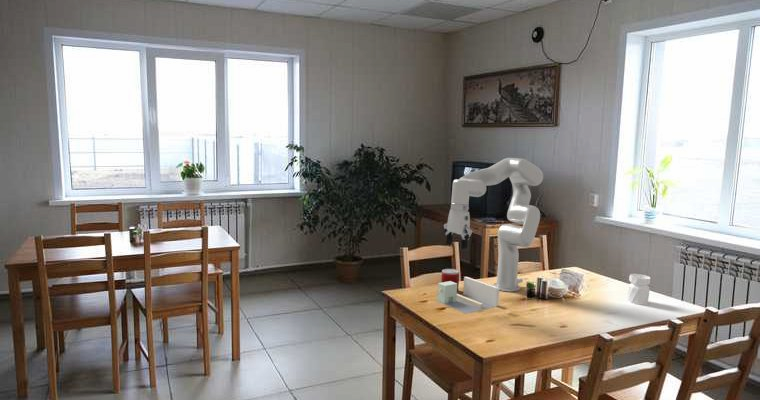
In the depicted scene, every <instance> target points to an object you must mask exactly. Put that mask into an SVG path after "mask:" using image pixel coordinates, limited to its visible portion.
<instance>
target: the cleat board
mask: <svg viewBox="0 0 760 400" xmlns="http://www.w3.org/2000/svg"><path fill="white" fill-rule="evenodd" d="M499 298H500V290H499V288H498V287H495V286H493V285H492V284H489V283H486V282H482V281H480V280H477V279H474V278H472V277H468V276H463V291H462V293H461V294H459V293H457V299H456V301H455V302H452V301H450V300H448V303H446V304H443V303H441V302H439V301H437V300H438V298H436V299H434V301H435V302H438V303H440V304H441V305H444V306H446V307H449V308H452V309H454V310H456V311H458V312H461V313H463V314H465V315H467V314H472V313H475V312H480V311H484V310H487V309H493V308H497V307H499Z"/></svg>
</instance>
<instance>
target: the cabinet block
mask: <svg viewBox="0 0 760 400" xmlns="http://www.w3.org/2000/svg"><path fill="white" fill-rule="evenodd" d="M457 294H458V292H457V283H454V282H452V281H448V282H442V283H441V282H438V284H437V299H438V300H437V301H439V302H438V303H440V302H441V303H440V304H442V303H443V304H442V305H444V304H446V303H448V300H450V301H452V302H455V301H456V299H457ZM437 301H436V302H437Z"/></svg>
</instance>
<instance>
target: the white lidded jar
mask: <svg viewBox="0 0 760 400" xmlns="http://www.w3.org/2000/svg"><path fill="white" fill-rule="evenodd" d="M651 280H652V279H651V277H650V276H648V275H645V274H639V273H630V274H629V278H628V281H629V282H630V284H628V289H627V302H628V301H630V302H631V303H630V302H629V303H630V304H633V303H634V304H635V305H638V306H639V305H640V306H646V305H648V304H649V298H650V297H649V296H650V290H651V289H650V287H649V285H650V283H651ZM634 304H633V305H634Z"/></svg>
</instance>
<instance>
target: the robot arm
mask: <svg viewBox="0 0 760 400" xmlns="http://www.w3.org/2000/svg"><path fill="white" fill-rule="evenodd" d="M508 178H509V181H510V182H511V185H512V191H513V193H512V198H511V200H510V203H509V206H508V209H507V213H506V217H507V220H508V221H510V222H511V223H514V224H511V223H505V224H502V225H501V226H499V228H498V230H497V240H498V242H497V243H498V257H497V274H496V282H495V283H493V285H492V286H495V287H498V288H499V291H501V292H502V291H503V292H518V291H520V289H521V287H520V285H519V283H523V282H524V280H523V278H518V273H519V272H518V271H519V270H518V269H519V255H520V254H519V248H518V247H521V248H529V247H530V246H531V245H532V244H533V242H534V239H535V237H536V233H537V231H538V228H539V224H540V220H541V212H540V209H539V208H538V207H536V206H535V205H531V204H530V203H531V199H532V193H531V190H530V188H529V186H531V187H535V186H539V185H540V184H541V183H542V182H543V180H544V173H543V171H542V170H541V168H539V167H538V166H536V165H535V164H534V163H532V162H530V161H529V160H527V159H525V158H517V157H506V158H504V159H502V160H499V161H498V162H497V163H495V164H493V165H491V166H489V167H486V168H482V169H479V170H478V169H477V170H474V171H471V172H469V173H467V174H464V175H463V176H462V177H460V178H459V179H457V178H456V179H453V181H452V186H451V187H452V190H451V200H450V209H449V213H448V217H447V222H446V223H444V224H443V228H444V235H445V245H447V246H449V245H453V234H455V235H460V236H461V241H460V249H461V250H465V249H468V242H469V240H470V238H471V237H472V234H473V230H472V228H471V227H470V226H471V222H470V221H471V217H470V216H471V215H470V211H469V210H470V207H469V204H470V203H469V201H470V197H474V198H475V197H476V198H479V197H482V196H484V195H485V194H486V192H487V186H495V185H498V184H500V183H501V182H503V181H505V180H506V179H508ZM515 223H516V224H520V225H516V224H515ZM521 225H522V226H521Z"/></svg>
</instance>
